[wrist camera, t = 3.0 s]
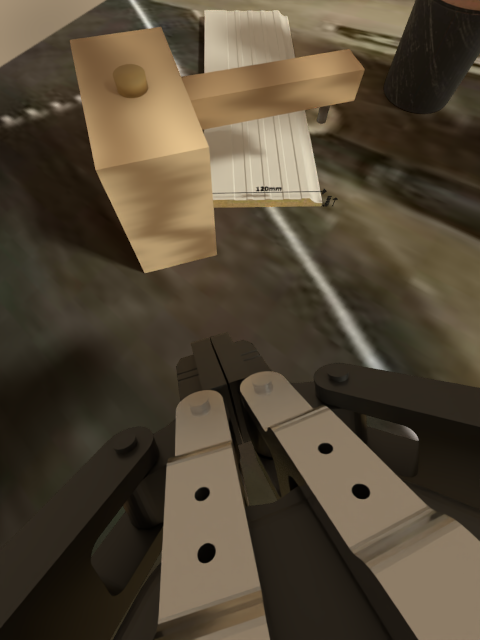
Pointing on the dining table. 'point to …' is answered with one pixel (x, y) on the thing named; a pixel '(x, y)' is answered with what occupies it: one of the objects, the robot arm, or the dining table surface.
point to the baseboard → (257, 121)
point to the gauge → (183, 130)
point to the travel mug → (434, 54)
